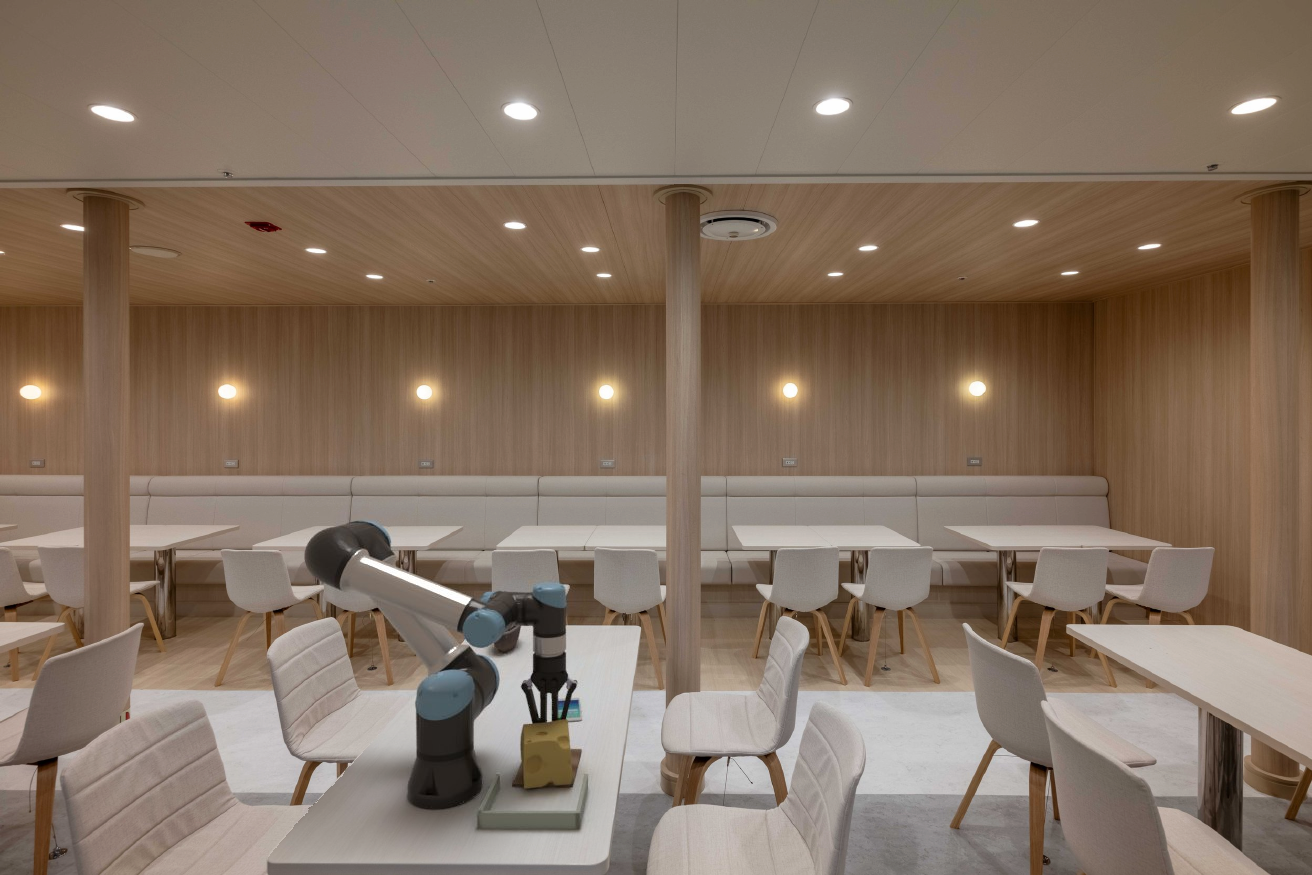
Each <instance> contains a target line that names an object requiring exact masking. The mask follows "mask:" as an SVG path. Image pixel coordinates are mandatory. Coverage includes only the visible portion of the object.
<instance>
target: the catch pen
mask: <svg viewBox="0 0 1312 875" xmlns="http://www.w3.org/2000/svg"><path fill="white" fill-rule="evenodd" d="M500 776H501V774H500V773H495V775H494V778H493V780H491V781H492V782H491V783H490V786H489V787H488V790H487V792H486V794H485V796H484V798H483V800H482V802H481V804H480V806H479V809H478V811H477V813H476V818H477V820H476V824H477V826H476V828H477V829H479V830H480V829H481V830H483V829H484V830H485V829H486V830H487V829H491V830H492V829H493V830H494V829H500V830H501V829H502V830H503V829H504V830H505V829H506V830H507V829H508V830H509V829H511V830H514V829H516V830H517V829H518V830H519V829H520V830H522V829H523V830H525V829H526V830H529V829H530V830H531V829H532V830H533V829H535V830H538V829H540V830H541V829H542V830H543V829H544V830H546V829H547V830H549V829H550V830H551V829H552V830H559V829H562V830H564V829H565V830H580V829H581V824H582V820H583V814H584V810H585V805H586V800H587V795H588V792H589V791H588V790H589V773H584V774H583V779H582V783H581V787H580V792H579V796H578V801H577V804H576V805H577V806H576V810H491V808H492V807H493V804H494V802H495V800H496V797H497V795H498V793H499V790H500V788H501V777H500Z"/></svg>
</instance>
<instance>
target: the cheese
mask: <svg viewBox="0 0 1312 875" xmlns="http://www.w3.org/2000/svg"><path fill="white" fill-rule="evenodd" d="M569 729H570V728H569V722H568V720H567V719H562V720H557V721H552V720H551V721H547V722H544V723H534V724H532V723H524V724H522V729H521V733H520V760H521V762H522V767H523V778H524V787H523V788H524V789H525V790H526V789H534V788H535V789H536V788H541V787H542V786H545V785H547V784H548V783H553V784H554V785H567V784H571V782H572V766H571V749H572V748H571V740H570V730H569Z"/></svg>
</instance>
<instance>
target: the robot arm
mask: <svg viewBox="0 0 1312 875" xmlns="http://www.w3.org/2000/svg"><path fill="white" fill-rule="evenodd" d="M303 557H304V563H305V566H306V569H307V570H308V572H309V573H310V575H311V576H313V577H314V578H315V579H316V580H318V581H319V582H320V583H323V584H325V585H327V586H329V587H332V588H334V589H337V590H339V591H342V592H350V591H352V590H353V591H355V592H358V593H360V594H363V595H365V596H368V597H369V598H370V601H372V602H373V603H374V605H375V606H376V607H377V608H378V610H379V611H380V612H381V613H382V615H383V616H384V617H385V618H386V619H387V621H388V622H389V624H390V625H391V626H392V627H393V628H394V629H395V631H396V632H397V633H398V635H399V636H400V637H401V638H402V639H403V640H404V642H405V643H406V644H407V646H408V647H409V648H410V649H411V650H412V652H413V653H414V654H415V656H416V657H417V658H418V659H419V661H420V662H421V663H422V664H423V665H424V667H425V668H426V669H427V671H428V672H427V677H425V678H424V679H422V681H421V682H420V683H419V685H418V687H417V690H416V697H415V702H414V703H415V704H414V705H415V706H414V707H415V726H416V727H415V729H416V730H415V733H416V735H415V738H416V740H415V744H416V745H415V746H416V753H415V754H416V758H415V759H414V764H413V766H412V770H411V773H410V776H409V779H408V782H407V799H408V801H409V802H410V803H411V804H412V805H414V806H416V807H418V808H423V809H428V810H429V809H430V810H432V809H433V810H434V809H437V810H438V809H446V808H452V807H456V806H458V805H461V804H464V803H466V802H468V801H471V799H474V798H475V797H476V796H477V795H478V794H480V792H481V790H482V788H483V772H482V768H481V765H480V762H479V760H478V757H477V755H476V752H475V744H474V742H475V730H474V729H475V728H474V727H475V724H474V723H475V721H476V719H477V718H478V717H479V716H480V715H481V713H483V711H484V710H485V709H486V708H487V707H488V706H489V705H490V704H491V703H492V702H493V701H494V699H495V697H496V694H497V693H498V691H499V687H500V686H499V685H500V673H499V669H498V667H497V664H496V663H494V661H493V660H492V659H491V658H490V657H488V656H486V655H484V654H479V653H476V652H475V651H474V650H473V648H472V647H474V648H477V649H483V648H487V647H489V646H492V645H494V643H495V642H496V641H498V640H499V639H500V638H501V636H502V635H503V634H504V633H505V632H506V631H507V630H508V629H510V628H511V627H512V626H521V627H531V626H532V651H533V654H532V673H531V675H530V678H528V679H527V680H526V679H524V680H523V681H522V682H521V685H520V689H521V690H522V692H523V693H524V695H525V700H526V702H527V707H528V710H529V715H530V719H531V724H534V723H544V722H548V694H551V721H557V720H562V719H566V717H567V713H568V709H569V705H570V701H571V698H573V697H572V696H573V693H574V692H575V690H576V688H577V687H578V680H577V679H574V680H573V679H572V678H570V677H569V673H568V671H567V652H566V650H567V606H568V604H567V594H566V593H567V591H566V590H567V589H566V586H565V585H563V584H562V583H560V582H556V581H555V582H551V581H548V582H539V583H537V584H535V585H534V586H533V588H532V591H529V592H527V591H526V592H525V591H524V592H523V591H506V592H503V590H496V591H486V592H485V593H483V594H482V595H481V598H480V600H479V599H477V598H474V597H473V596H470V595H468V594H466V593H465V594H464V593H463V592H460V591H457V590H455V589H453V588H449V587H448V586H445V585H442V584H440V583H438V582H435V581H432V580H430V579H427V578H425V577H423V576H420V575H417V574H415V573H412V572H409V571H408V570H405V569H403V568H400V567H398V566H396V565H397V564H396V562H397V555H396V554H395V552H394V551H393V550H392V540H391V536H390V534H389V533H388V531H387V529H385V528H384V527H383V526H382V525H380V523H377V522H376V521H372V520H353V521H349V522H347V523H345V524H340V525H336V526H332V527H327V528H324V529H322V530H320V531H318V532H317V533H315V534H314V535H313V536H312V537H311V538H310V539H309V541H308V542H307V545H306V546H305V549H304V556H303ZM447 628H448V629H450V630H453V631H455V632H457V633H461V634H463V637H464V639H465V641H466V642H467V643H468V644H461V643H459V642H458V641H457V639H456V638H455V637H454V636H453V635H452V633H451V632H450V631H449V630H448V629H447ZM471 646H472V647H471ZM533 686H535V688H536V689H537V691H538V692H539V698H540V699H539V700H540V701H539V703H540V704H539V709H540V710H539V711H540V712H539V711H538V707H537V703H536V699H535V694H534V691H533ZM564 686H565V688H566V690H567V691H566V695H565V702H564V706H563V711H562V715H561V717H560V718H558V699H559V692H560V691H561V689H562V688H563V687H564ZM539 714H540V715H539Z"/></svg>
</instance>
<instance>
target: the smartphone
mask: <svg viewBox="0 0 1312 875" xmlns="http://www.w3.org/2000/svg"><path fill="white" fill-rule="evenodd" d="M565 698H566V697H565ZM565 698H558V718H560V717H561V715H562V711H563V706H564V702H565ZM581 708H582V706H581V699H580V697H571V701H570V705H569V709H568V713H567V717H566V719H567V720H568V723H576V722H577V723H578V722H582V721H583V719H582V717H583V716H582V709H581Z"/></svg>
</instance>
